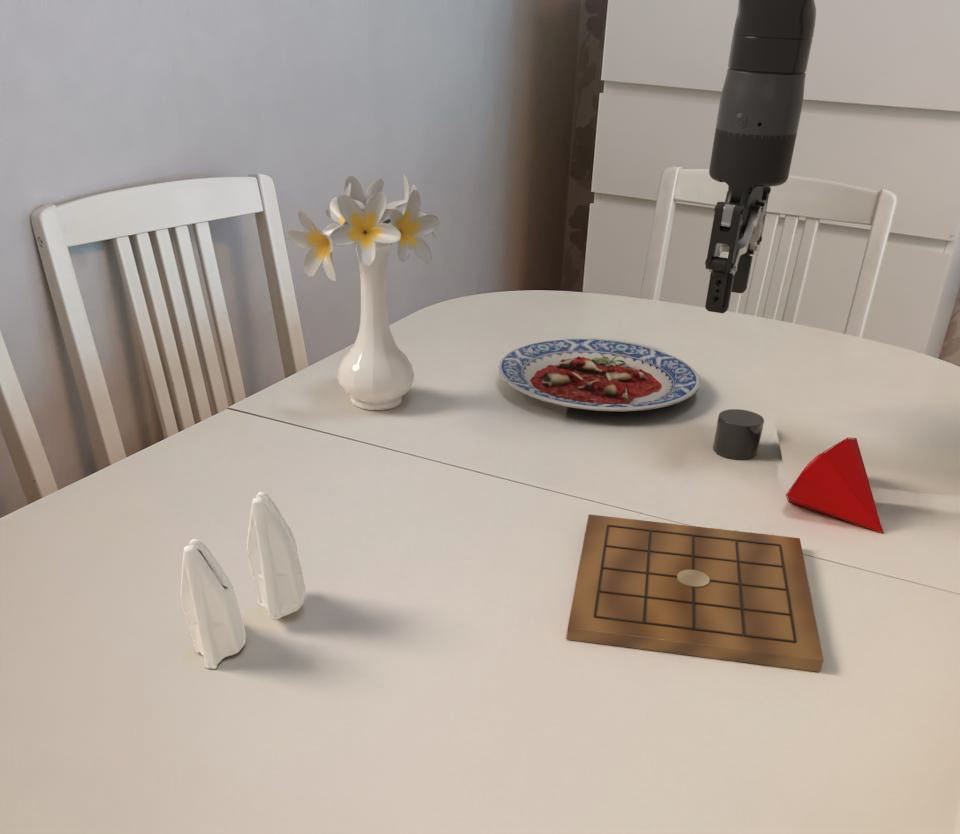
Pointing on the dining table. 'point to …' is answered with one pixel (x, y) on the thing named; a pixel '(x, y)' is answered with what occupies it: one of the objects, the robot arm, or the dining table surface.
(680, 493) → the dining table surface
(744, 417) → the dark grey cylinder
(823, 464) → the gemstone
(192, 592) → the shaker set
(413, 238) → the flower vase
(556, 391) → the ceramic plate
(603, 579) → the board
